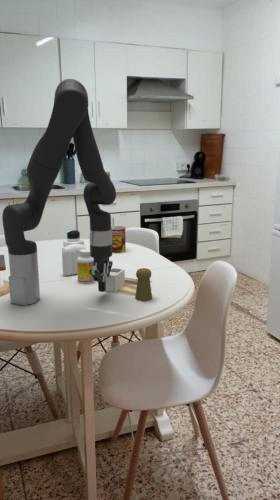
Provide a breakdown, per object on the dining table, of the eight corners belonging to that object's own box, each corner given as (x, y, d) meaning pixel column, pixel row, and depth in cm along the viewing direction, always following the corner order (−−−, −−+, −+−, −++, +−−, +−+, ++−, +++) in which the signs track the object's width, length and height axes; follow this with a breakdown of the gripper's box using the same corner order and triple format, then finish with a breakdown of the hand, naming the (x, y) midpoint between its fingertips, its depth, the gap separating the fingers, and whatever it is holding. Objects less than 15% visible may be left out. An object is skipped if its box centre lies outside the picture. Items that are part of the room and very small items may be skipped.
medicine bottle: (84, 254, 197) (83, 230, 194) (74, 258, 191) (73, 233, 188) (73, 252, 201) (72, 228, 198) (63, 255, 195) (62, 231, 192)
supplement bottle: (90, 286, 154) (89, 253, 151) (74, 284, 156) (73, 251, 153) (98, 280, 160) (97, 249, 157) (83, 278, 162) (81, 247, 159)
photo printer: (84, 270, 174) (83, 241, 170) (88, 272, 170) (87, 243, 167) (61, 274, 168) (59, 245, 165) (65, 277, 165) (64, 247, 161)
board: (134, 297, 143) (134, 295, 143) (99, 292, 148) (99, 290, 148) (152, 282, 158) (152, 281, 158) (119, 278, 163) (119, 276, 163)
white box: (115, 291, 147) (115, 274, 145) (103, 290, 148) (102, 273, 147) (124, 284, 154) (124, 268, 152) (112, 283, 156) (112, 267, 154)
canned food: (107, 252, 201) (106, 228, 198) (113, 248, 208) (112, 225, 205) (122, 253, 199) (122, 229, 196) (127, 249, 206) (127, 226, 203)
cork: (146, 304, 137) (146, 272, 134) (131, 300, 140) (131, 270, 137) (155, 298, 142) (155, 268, 139) (140, 295, 145) (140, 265, 142)
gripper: (101, 248, 130) (102, 299, 135) (119, 239, 142) (120, 286, 146) (81, 246, 133) (83, 295, 137) (100, 237, 145) (101, 283, 149)
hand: (102, 290), depth 142 cm, fingers closed
